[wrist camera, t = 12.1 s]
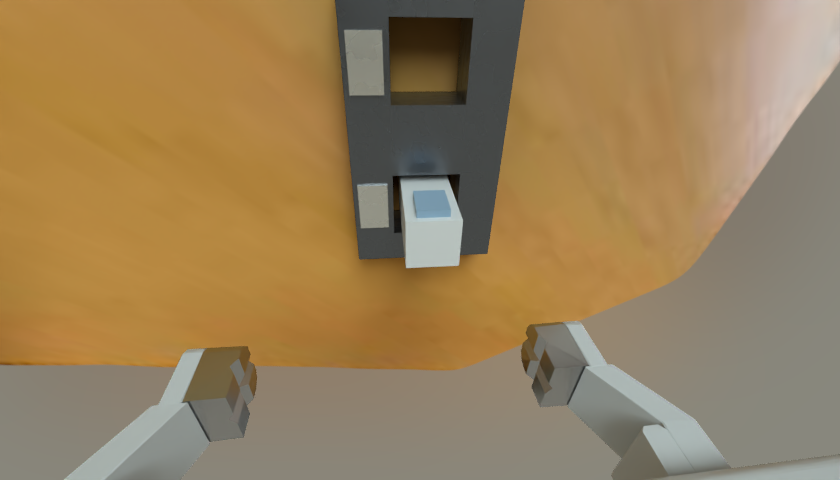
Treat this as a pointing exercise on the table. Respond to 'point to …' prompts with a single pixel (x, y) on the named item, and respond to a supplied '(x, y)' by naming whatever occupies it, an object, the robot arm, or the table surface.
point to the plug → (429, 221)
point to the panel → (426, 116)
